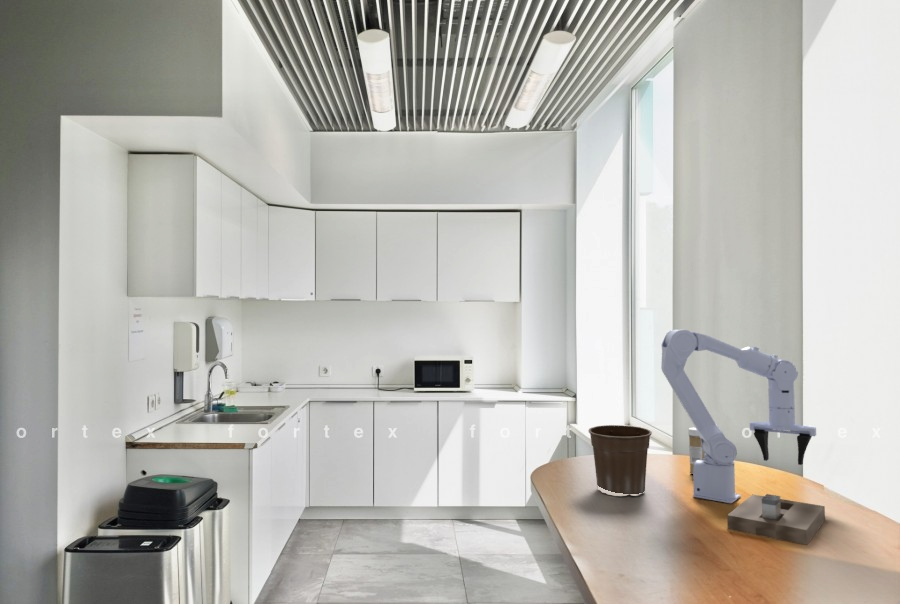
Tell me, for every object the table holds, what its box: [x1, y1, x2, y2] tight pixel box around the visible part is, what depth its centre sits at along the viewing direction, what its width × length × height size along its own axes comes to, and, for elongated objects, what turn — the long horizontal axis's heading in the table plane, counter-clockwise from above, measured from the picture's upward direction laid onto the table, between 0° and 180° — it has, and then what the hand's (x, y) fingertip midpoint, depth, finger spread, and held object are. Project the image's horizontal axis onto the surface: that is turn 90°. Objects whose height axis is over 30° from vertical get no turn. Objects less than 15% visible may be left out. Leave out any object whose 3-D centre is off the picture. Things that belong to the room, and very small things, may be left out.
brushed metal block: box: [762, 493, 781, 521], centre depth 130 cm, size 3×4×7 cm, turn 139°
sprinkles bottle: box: [688, 427, 706, 475], centre depth 177 cm, size 5×5×14 cm
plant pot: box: [587, 424, 653, 494], centre depth 161 cm, size 16×16×16 cm
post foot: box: [726, 494, 826, 546], centre depth 134 cm, size 15×20×3 cm
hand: (783, 461), depth 152 cm, fingers open, 7 cm apart
